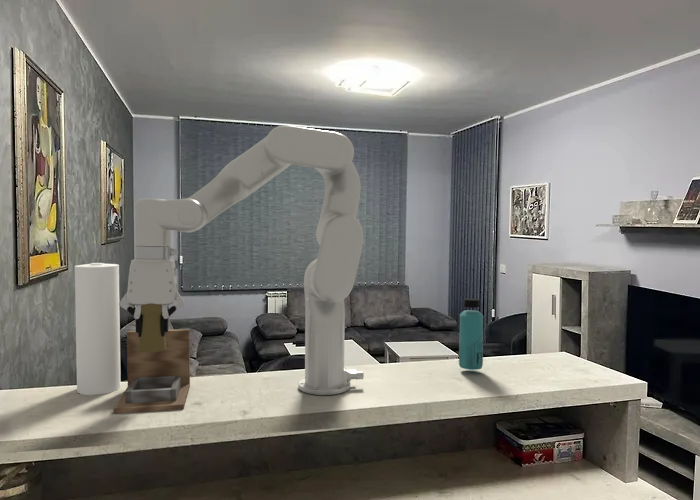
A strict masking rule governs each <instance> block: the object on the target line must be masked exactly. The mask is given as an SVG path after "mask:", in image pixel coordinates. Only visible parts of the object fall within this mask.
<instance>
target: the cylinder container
mask: <svg viewBox="0 0 700 500" xmlns="http://www.w3.org/2000/svg"><path fill="white" fill-rule="evenodd" d="M74 295H75V296H74V299H75V301H74V302H75V303H74V304H75V305H74V307H75V349H76V350H75V353H76V354H75V357H76V359H75V360H76V362H75V363H76V393H78V394H79V393H80V394H79V395H83V396H84V395H85V396H95V395H105V394H108V393H109V394H110V393H113V392H115V391H117V390H120V388H121V382H122V380H121V330H120V329H121V327H120V326H121V325H120V324H121V323H120V321H121V320H120V319H121V317H120V314H121V313H120V306H119V302H120V264H117V263H104V262H90V263H86V264H79V265H78V264H77V265H74Z"/></svg>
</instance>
